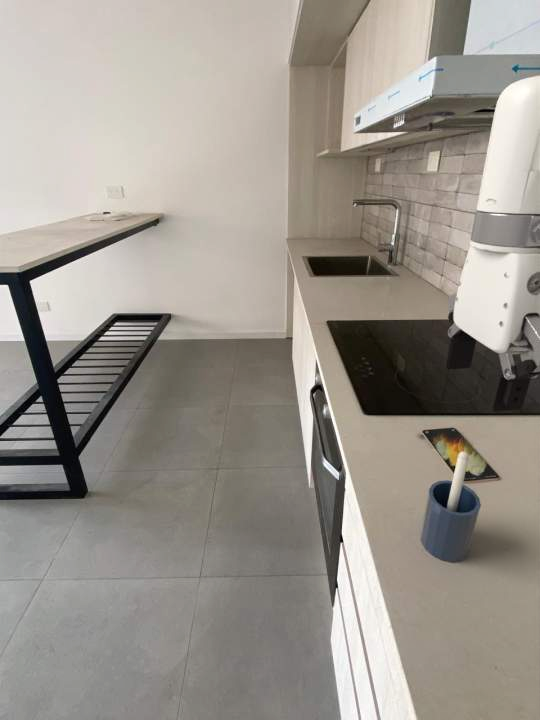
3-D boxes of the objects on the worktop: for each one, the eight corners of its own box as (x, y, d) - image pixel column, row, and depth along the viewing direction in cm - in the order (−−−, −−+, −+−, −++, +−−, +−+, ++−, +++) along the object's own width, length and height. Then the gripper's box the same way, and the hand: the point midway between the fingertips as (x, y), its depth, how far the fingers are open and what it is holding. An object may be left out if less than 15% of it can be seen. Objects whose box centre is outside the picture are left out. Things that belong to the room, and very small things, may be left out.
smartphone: (454, 427, 80) (501, 477, 66) (454, 429, 80) (500, 481, 66) (420, 429, 79) (460, 481, 66) (420, 432, 79) (459, 484, 66)
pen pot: (453, 525, 59) (464, 478, 55) (476, 562, 53) (490, 513, 49) (413, 529, 58) (421, 482, 54) (432, 566, 53) (442, 517, 49)
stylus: (446, 538, 56) (466, 449, 49) (450, 545, 55) (471, 455, 48) (437, 539, 56) (457, 449, 49) (441, 546, 55) (462, 456, 48)
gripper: (633, 244, 31) (567, 427, 38) (497, 221, 46) (469, 354, 53) (541, 247, 30) (492, 433, 37) (435, 223, 46) (415, 357, 53)
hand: (478, 386), depth 45 cm, fingers open, 9 cm apart
